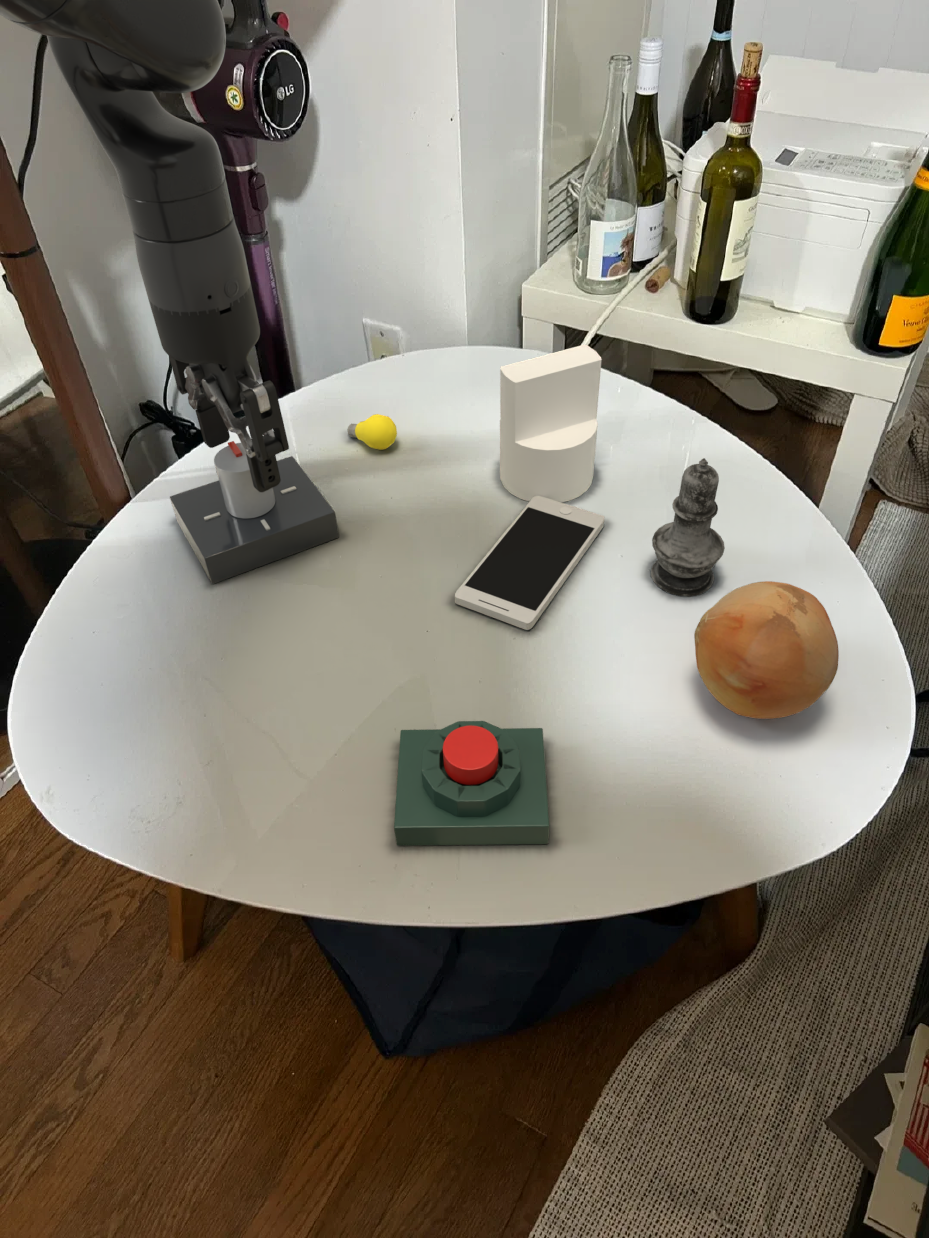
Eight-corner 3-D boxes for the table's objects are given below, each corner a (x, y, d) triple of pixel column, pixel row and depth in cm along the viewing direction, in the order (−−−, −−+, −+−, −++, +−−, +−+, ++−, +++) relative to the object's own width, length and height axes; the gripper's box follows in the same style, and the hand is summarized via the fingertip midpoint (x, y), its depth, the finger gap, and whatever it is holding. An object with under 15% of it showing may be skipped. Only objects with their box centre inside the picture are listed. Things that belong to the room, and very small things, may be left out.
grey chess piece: (643, 593, 77) (661, 476, 69) (650, 548, 81) (668, 432, 73) (715, 603, 76) (742, 486, 68) (719, 557, 80) (745, 441, 72)
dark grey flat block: (212, 584, 79) (203, 557, 77) (177, 522, 86) (168, 494, 83) (339, 537, 83) (335, 510, 81) (297, 481, 90) (292, 454, 87)
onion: (687, 638, 73) (707, 542, 66) (817, 656, 72) (852, 559, 65) (680, 733, 67) (702, 638, 60) (823, 755, 65) (863, 660, 58)
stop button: (443, 785, 60) (442, 770, 58) (444, 741, 62) (443, 725, 61) (498, 785, 60) (498, 769, 58) (497, 740, 62) (497, 724, 61)
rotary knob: (283, 508, 82) (272, 458, 78) (235, 524, 80) (223, 475, 76) (265, 482, 84) (254, 433, 81) (219, 498, 83) (206, 449, 79)
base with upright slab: (564, 439, 93) (570, 329, 85) (610, 487, 87) (622, 374, 79) (484, 463, 91) (482, 352, 82) (526, 514, 85) (528, 400, 76)
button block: (396, 846, 61) (391, 812, 58) (402, 748, 66) (398, 713, 64) (548, 844, 61) (550, 810, 58) (541, 746, 66) (543, 711, 63)
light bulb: (393, 457, 92) (375, 432, 89) (349, 454, 95) (331, 430, 93) (408, 432, 93) (392, 407, 90) (365, 430, 97) (348, 405, 94)
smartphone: (605, 523, 84) (606, 515, 83) (529, 631, 74) (529, 623, 73) (534, 501, 86) (535, 493, 85) (452, 603, 77) (452, 595, 76)
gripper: (109, 268, 70) (165, 446, 82) (199, 336, 62) (246, 522, 74) (197, 239, 73) (239, 414, 85) (293, 300, 66) (324, 484, 77)
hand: (242, 464), depth 79 cm, fingers open, 8 cm apart
